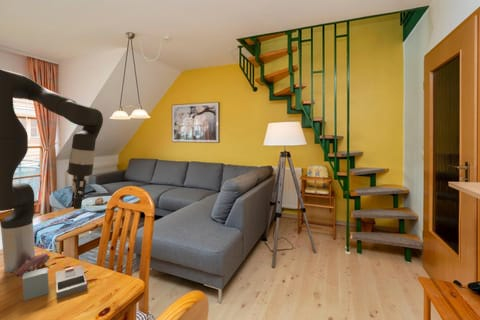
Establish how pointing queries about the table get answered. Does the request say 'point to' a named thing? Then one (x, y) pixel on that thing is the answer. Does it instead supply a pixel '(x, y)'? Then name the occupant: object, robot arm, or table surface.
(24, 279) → the block
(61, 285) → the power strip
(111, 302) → the table surface
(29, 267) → the pink curved toy
